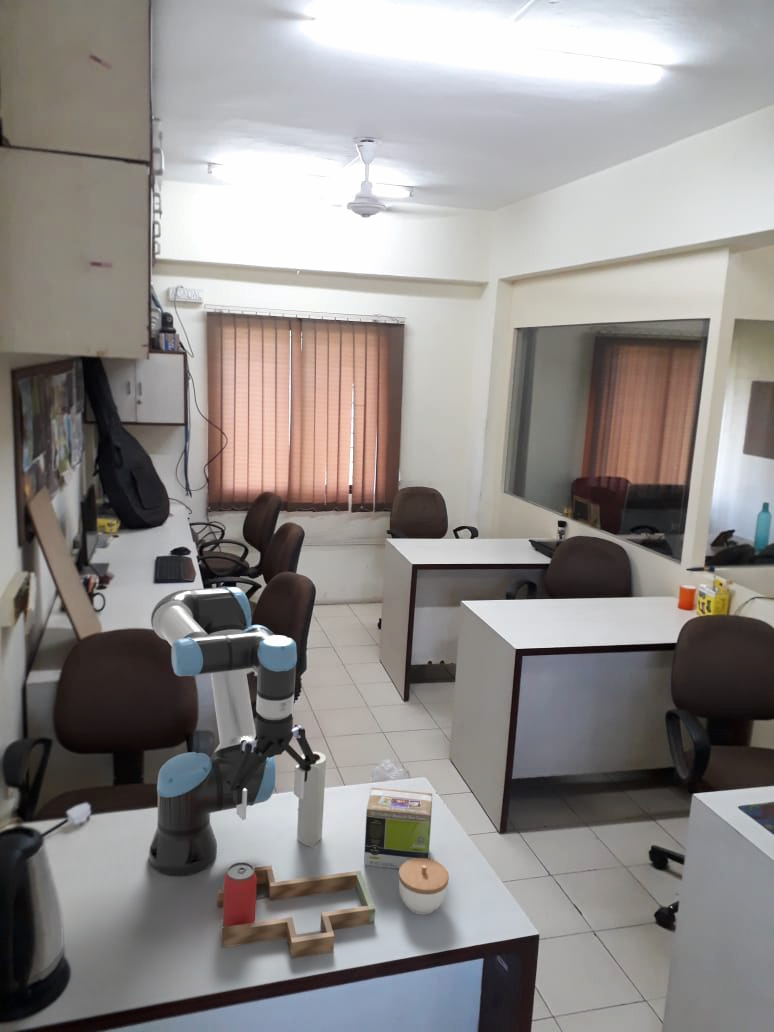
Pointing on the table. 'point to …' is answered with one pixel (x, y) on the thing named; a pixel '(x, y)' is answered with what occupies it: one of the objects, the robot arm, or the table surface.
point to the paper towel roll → (312, 803)
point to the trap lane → (285, 926)
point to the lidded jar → (422, 885)
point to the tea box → (397, 827)
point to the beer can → (239, 895)
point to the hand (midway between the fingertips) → (270, 806)
